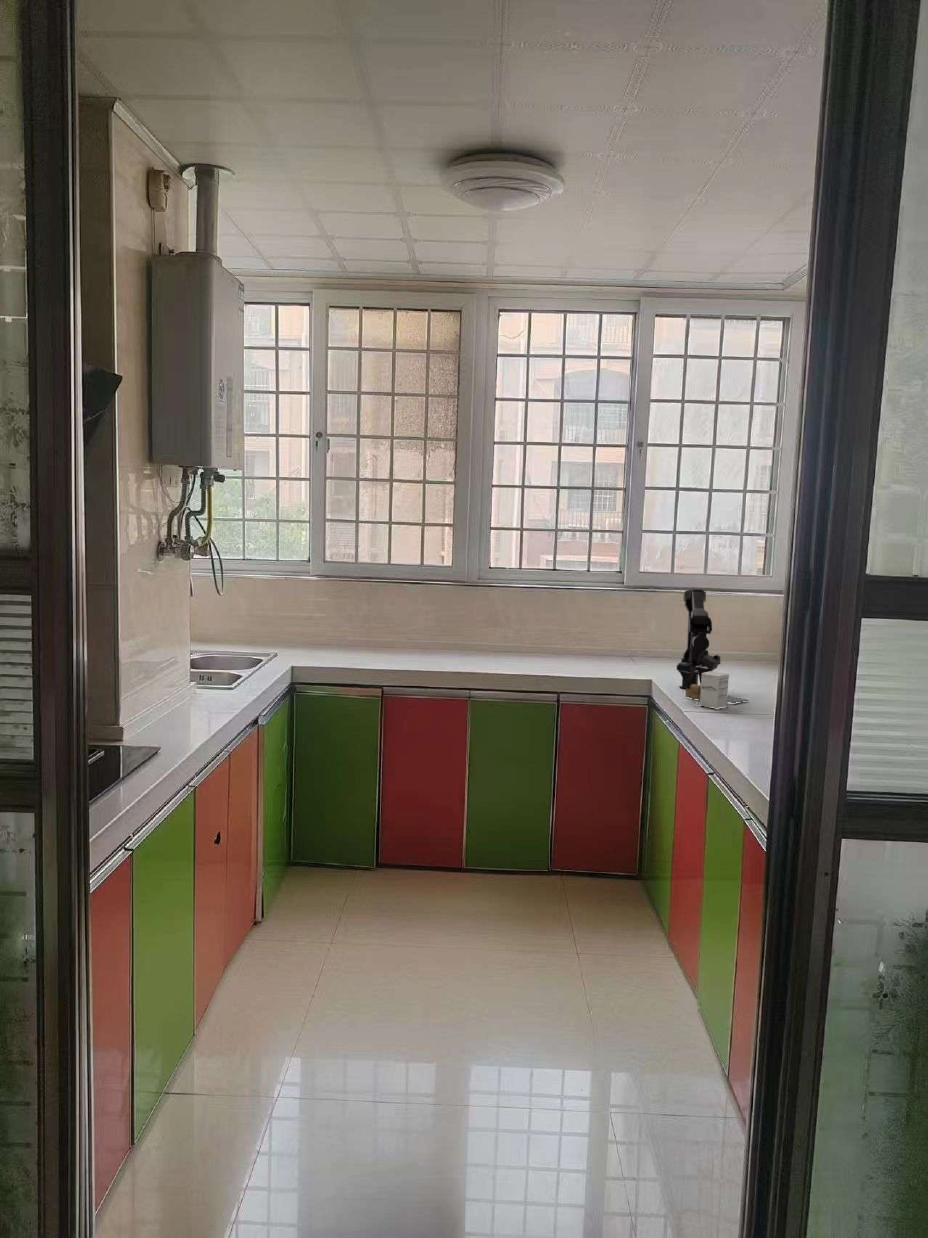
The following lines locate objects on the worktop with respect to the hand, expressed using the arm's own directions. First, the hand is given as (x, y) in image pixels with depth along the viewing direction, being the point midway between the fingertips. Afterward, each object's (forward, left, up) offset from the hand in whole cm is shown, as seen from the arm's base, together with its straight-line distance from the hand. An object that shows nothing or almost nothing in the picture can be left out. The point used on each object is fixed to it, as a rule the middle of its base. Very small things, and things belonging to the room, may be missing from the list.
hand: (695, 687), depth 369 cm
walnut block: (0, 0, -4) cm, 4 cm away
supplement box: (+8, +13, -4) cm, 16 cm away
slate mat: (-7, +11, -4) cm, 14 cm away
